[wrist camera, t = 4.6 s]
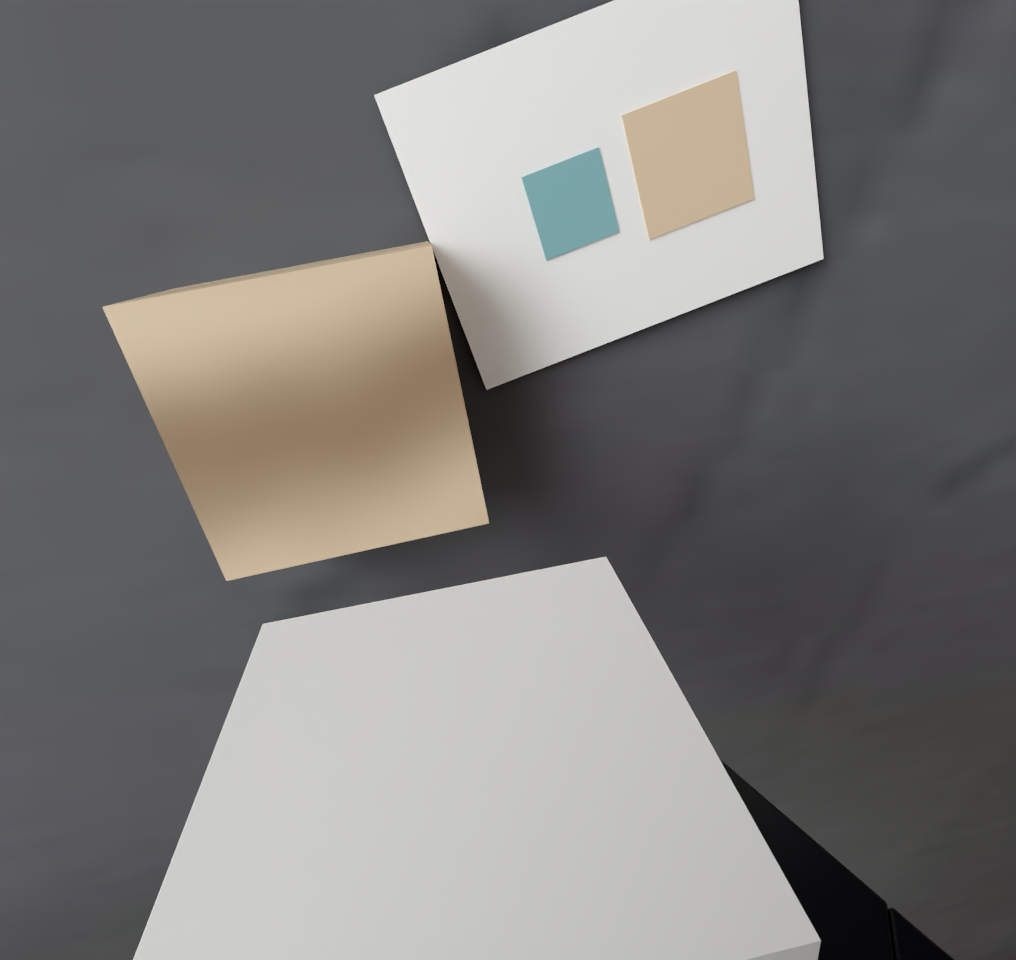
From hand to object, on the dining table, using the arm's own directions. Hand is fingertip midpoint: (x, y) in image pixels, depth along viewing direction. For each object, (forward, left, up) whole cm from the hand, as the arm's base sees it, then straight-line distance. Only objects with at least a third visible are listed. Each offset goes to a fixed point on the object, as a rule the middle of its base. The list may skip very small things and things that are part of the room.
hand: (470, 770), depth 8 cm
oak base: (+3, +2, -12) cm, 12 cm away
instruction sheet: (+7, -7, -11) cm, 15 cm away
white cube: (0, 0, -1) cm, 1 cm away
